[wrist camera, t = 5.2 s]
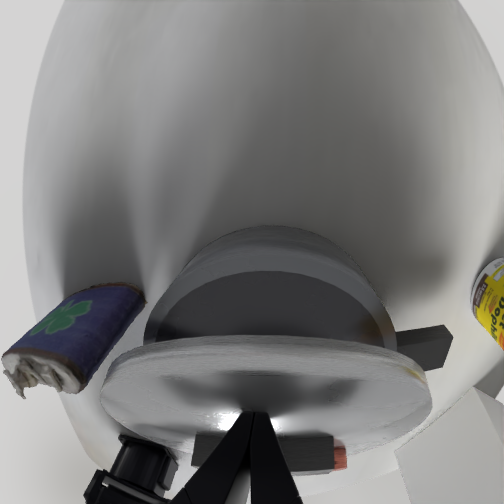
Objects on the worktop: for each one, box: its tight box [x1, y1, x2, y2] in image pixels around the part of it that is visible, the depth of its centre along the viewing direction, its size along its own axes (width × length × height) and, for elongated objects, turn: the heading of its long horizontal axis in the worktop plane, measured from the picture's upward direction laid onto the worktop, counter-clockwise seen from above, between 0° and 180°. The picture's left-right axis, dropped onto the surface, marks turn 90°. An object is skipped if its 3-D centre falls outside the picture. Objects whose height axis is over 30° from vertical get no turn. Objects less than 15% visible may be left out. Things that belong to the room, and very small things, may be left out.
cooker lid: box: [100, 335, 432, 476], centre depth 11 cm, size 15×15×3 cm
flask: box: [1, 282, 148, 399], centre depth 15 cm, size 9×3×11 cm, turn 105°
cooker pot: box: [143, 226, 453, 371], centre depth 16 cm, size 18×16×5 cm
